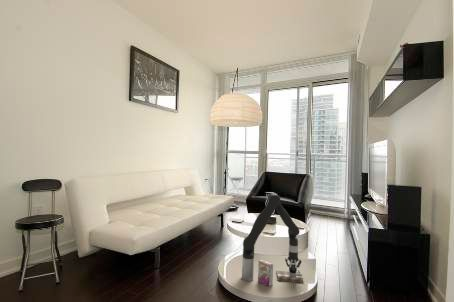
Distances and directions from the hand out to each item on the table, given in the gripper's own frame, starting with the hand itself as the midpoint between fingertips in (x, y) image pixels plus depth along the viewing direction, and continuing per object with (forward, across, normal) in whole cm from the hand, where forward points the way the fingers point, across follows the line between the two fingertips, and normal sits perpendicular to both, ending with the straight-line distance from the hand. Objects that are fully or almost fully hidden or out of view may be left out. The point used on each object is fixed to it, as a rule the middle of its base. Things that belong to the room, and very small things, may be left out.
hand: (292, 271), depth 194 cm
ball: (+3, +4, +7) cm, 9 cm away
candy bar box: (+7, -23, -9) cm, 26 cm away
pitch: (+7, -2, +5) cm, 9 cm away
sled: (+5, 0, +4) cm, 6 cm away
